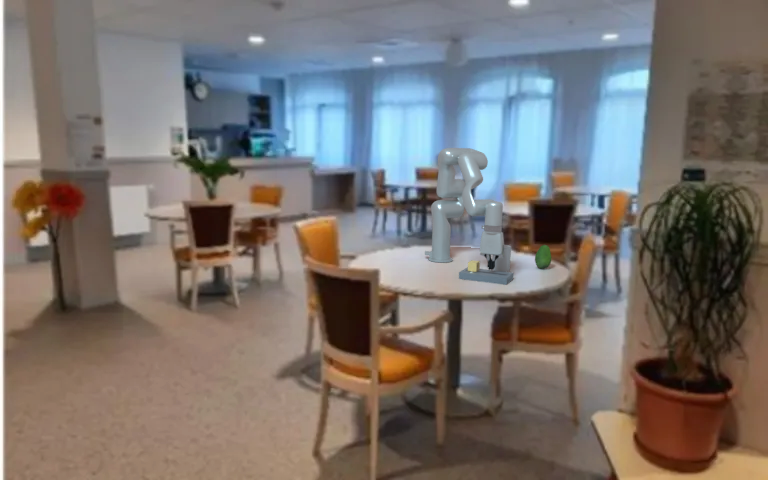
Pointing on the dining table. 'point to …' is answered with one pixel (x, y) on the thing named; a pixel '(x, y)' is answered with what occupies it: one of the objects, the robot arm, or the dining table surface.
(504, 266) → the light blue cylinder
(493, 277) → the board
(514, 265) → the dining table surface
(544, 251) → the avocado
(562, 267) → the dining table surface
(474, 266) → the fader knob
